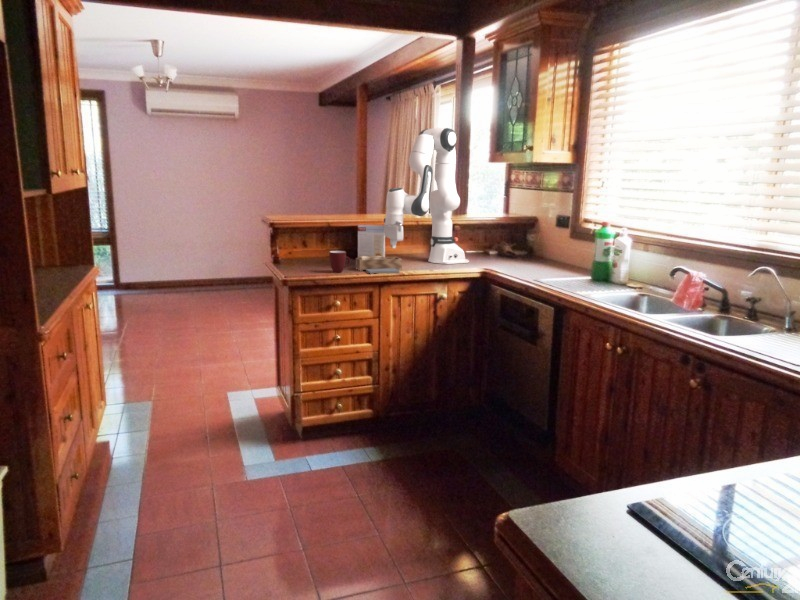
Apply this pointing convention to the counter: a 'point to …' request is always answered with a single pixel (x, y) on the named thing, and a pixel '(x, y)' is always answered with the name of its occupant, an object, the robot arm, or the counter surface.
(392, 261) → the tan patterned box
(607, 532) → the counter surface
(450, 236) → the robot arm
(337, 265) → the mug
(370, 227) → the cracker box
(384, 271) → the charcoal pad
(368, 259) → the birch bar
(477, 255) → the counter surface
